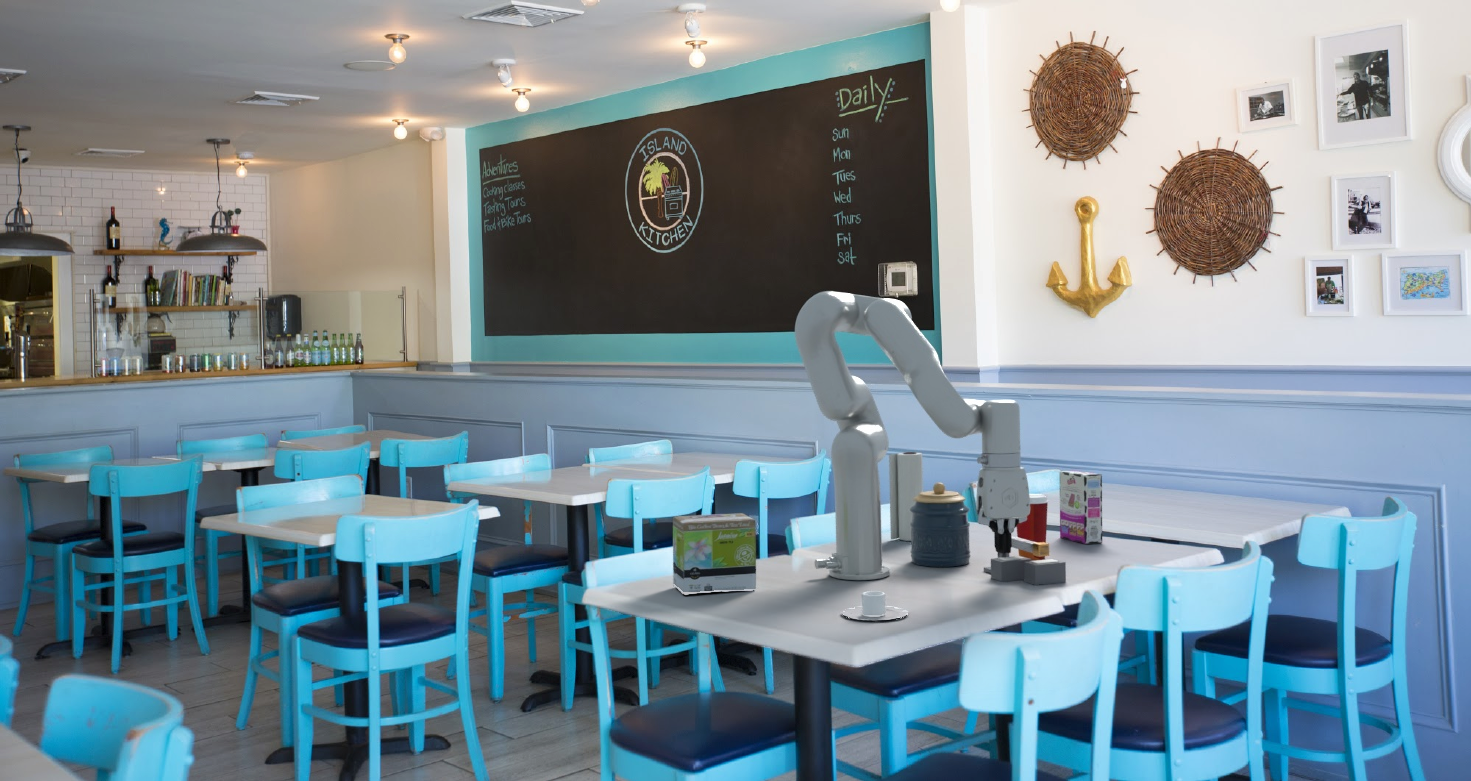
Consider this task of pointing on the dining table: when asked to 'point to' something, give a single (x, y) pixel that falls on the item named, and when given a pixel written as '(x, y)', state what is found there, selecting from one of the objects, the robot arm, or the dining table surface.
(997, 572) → the block
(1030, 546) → the swing arm
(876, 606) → the candle holder
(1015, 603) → the dining table surface
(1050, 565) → the block
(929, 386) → the robot arm
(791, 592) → the dining table surface
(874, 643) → the dining table surface
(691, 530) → the tea box
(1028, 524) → the paper cup
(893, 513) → the paper towel roll
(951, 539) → the canister
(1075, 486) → the candy bar box
